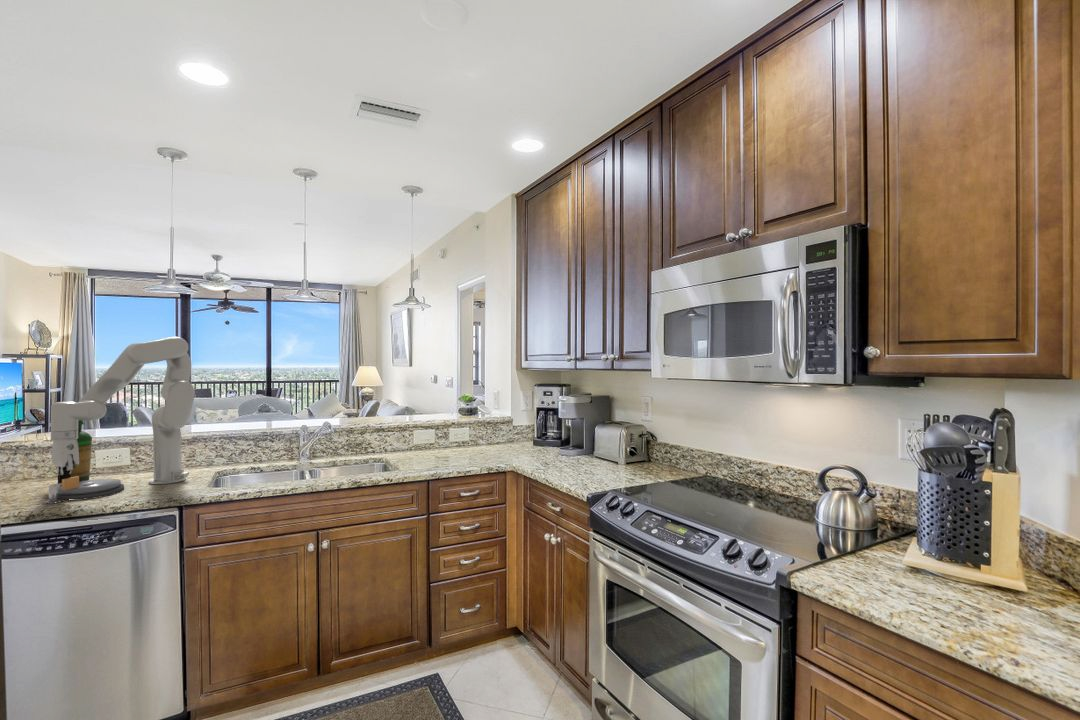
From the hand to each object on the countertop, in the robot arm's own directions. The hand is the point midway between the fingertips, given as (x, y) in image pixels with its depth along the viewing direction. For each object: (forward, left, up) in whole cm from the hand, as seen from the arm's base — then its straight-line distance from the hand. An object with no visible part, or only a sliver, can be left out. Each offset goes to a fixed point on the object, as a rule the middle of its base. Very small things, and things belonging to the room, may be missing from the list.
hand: (64, 485), depth 192 cm
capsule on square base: (-3, +7, -5) cm, 9 cm away
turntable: (-3, -6, -3) cm, 8 cm away
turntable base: (-3, -6, -5) cm, 8 cm away
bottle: (+15, -17, -5) cm, 23 cm away
